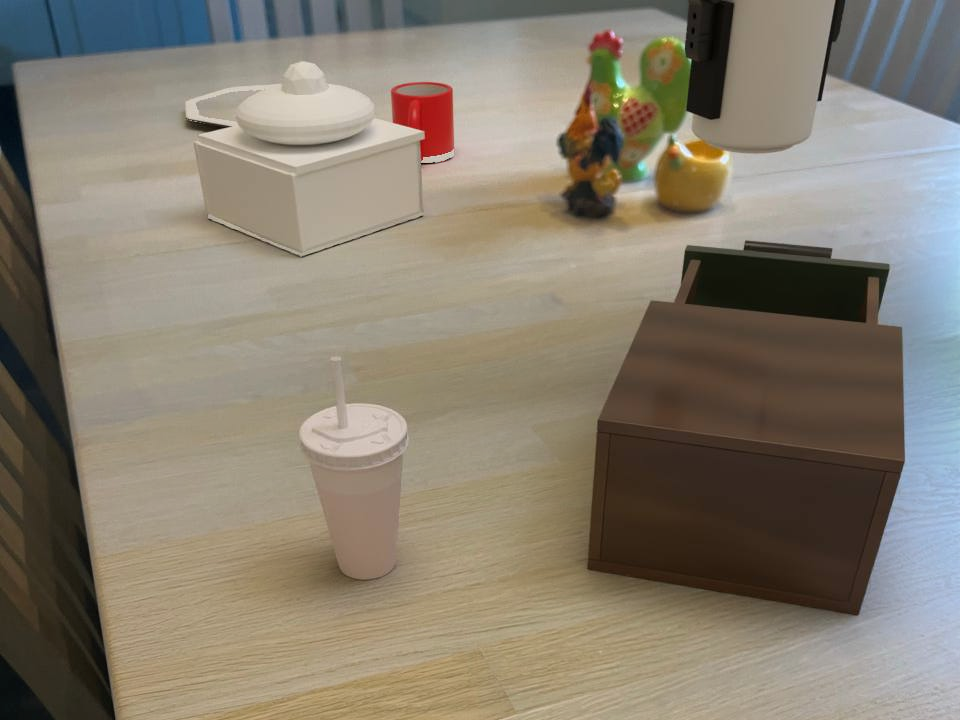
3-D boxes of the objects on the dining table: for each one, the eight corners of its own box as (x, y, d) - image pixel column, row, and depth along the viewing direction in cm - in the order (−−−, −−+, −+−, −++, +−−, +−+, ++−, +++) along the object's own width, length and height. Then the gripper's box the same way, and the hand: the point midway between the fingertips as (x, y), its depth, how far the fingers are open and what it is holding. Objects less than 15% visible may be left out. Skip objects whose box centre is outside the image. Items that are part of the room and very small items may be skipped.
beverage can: (666, 140, 71) (685, -68, 63) (741, 118, 75) (768, -80, 67) (758, 165, 66) (792, -57, 58) (833, 141, 70) (874, -70, 62)
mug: (386, 173, 127) (381, 104, 122) (399, 146, 136) (395, 81, 131) (448, 174, 127) (446, 105, 122) (457, 147, 136) (455, 81, 131)
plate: (277, 144, 138) (276, 132, 137) (152, 122, 147) (150, 111, 146) (379, 106, 153) (379, 95, 152) (260, 88, 162) (259, 77, 161)
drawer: (684, 322, 90) (696, 220, 85) (864, 341, 87) (890, 237, 81) (639, 443, 74) (651, 328, 69) (857, 473, 71) (889, 355, 65)
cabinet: (637, 435, 77) (650, 299, 70) (864, 467, 73) (902, 326, 66) (586, 569, 64) (597, 419, 57) (858, 615, 60) (905, 460, 53)
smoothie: (320, 536, 67) (291, 335, 58) (416, 531, 68) (403, 331, 58) (314, 595, 63) (283, 387, 53) (418, 590, 63) (404, 382, 54)
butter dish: (207, 219, 115) (178, 62, 105) (331, 183, 125) (315, 35, 114) (302, 258, 106) (280, 89, 95) (428, 215, 115) (420, 57, 105)
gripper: (914, -354, 60) (833, 76, 75) (619, -362, 53) (595, 114, 68) (1017, -367, 55) (909, 97, 70) (707, -377, 48) (660, 141, 63)
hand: (754, 105), depth 69 cm, fingers closed on beverage can, 8 cm apart
